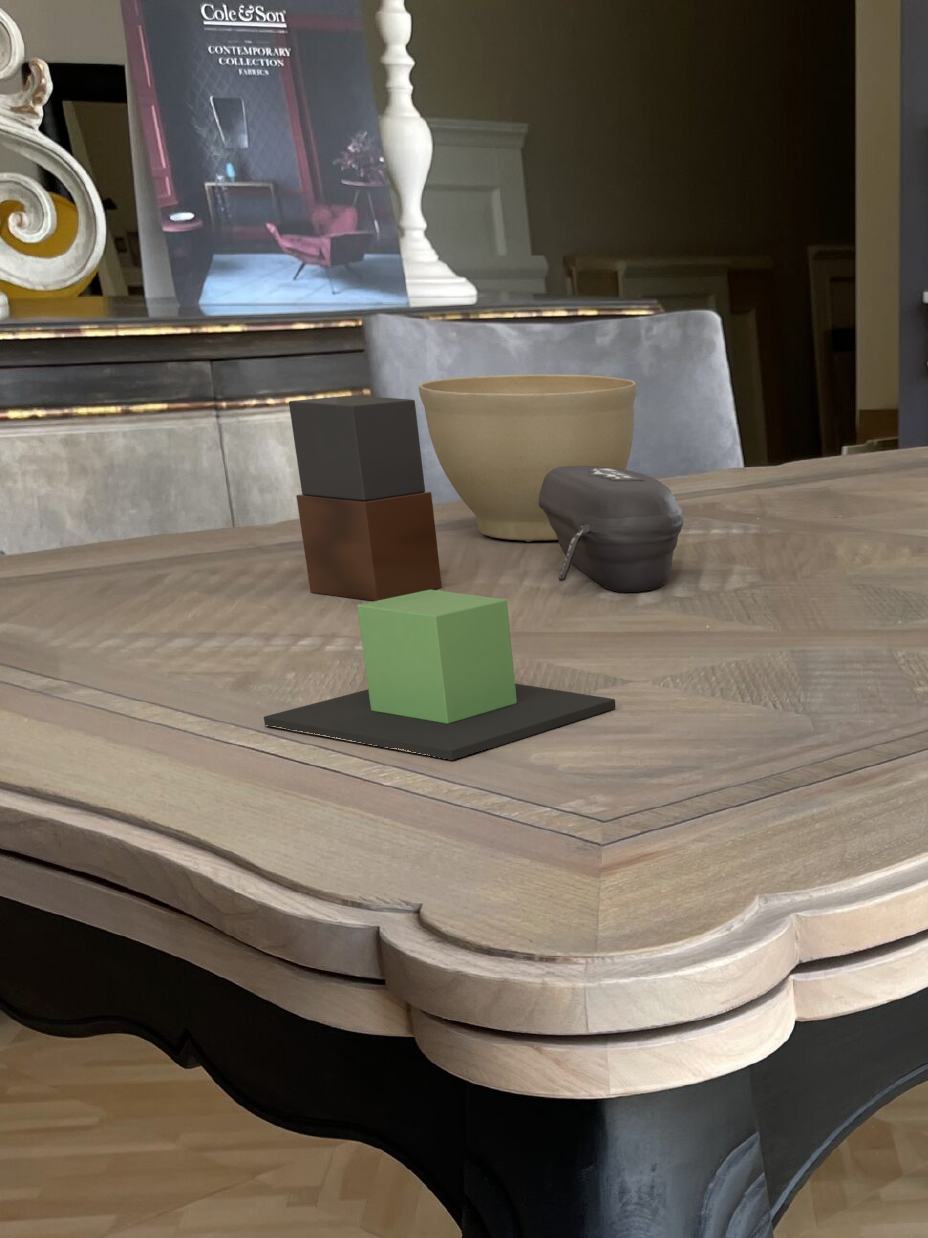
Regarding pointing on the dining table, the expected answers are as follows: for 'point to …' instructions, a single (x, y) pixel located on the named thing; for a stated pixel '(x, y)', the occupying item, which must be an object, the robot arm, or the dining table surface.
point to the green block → (437, 655)
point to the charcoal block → (357, 447)
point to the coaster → (439, 739)
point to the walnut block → (370, 545)
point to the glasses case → (613, 525)
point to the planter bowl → (524, 439)
